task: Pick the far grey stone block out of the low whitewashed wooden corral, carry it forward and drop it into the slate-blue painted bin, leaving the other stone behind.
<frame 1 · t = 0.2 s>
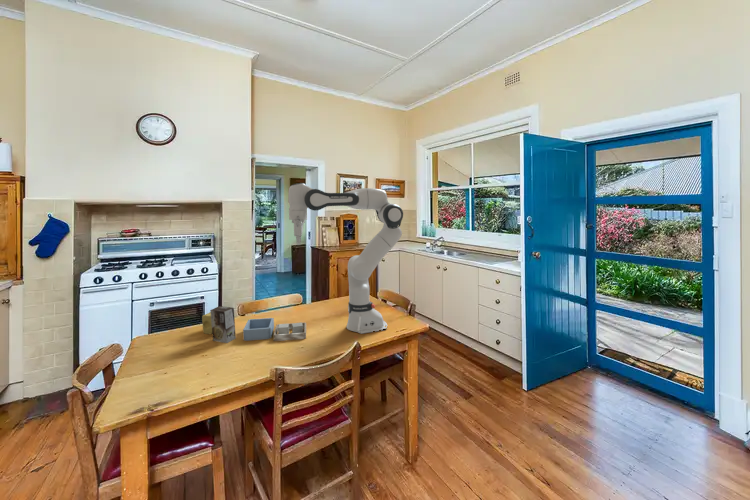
hand: (299, 243, 163), 47 cm above the table, fingers open, 8 cm apart
stone far: (283, 334, 166), resting in corral
cheese: (217, 331, 171), on the table
stone near: (297, 333, 168), resting in corral
corral: (290, 334, 167), on the table
bin: (259, 333, 167), on the table
coffee box: (224, 339, 160), on the table
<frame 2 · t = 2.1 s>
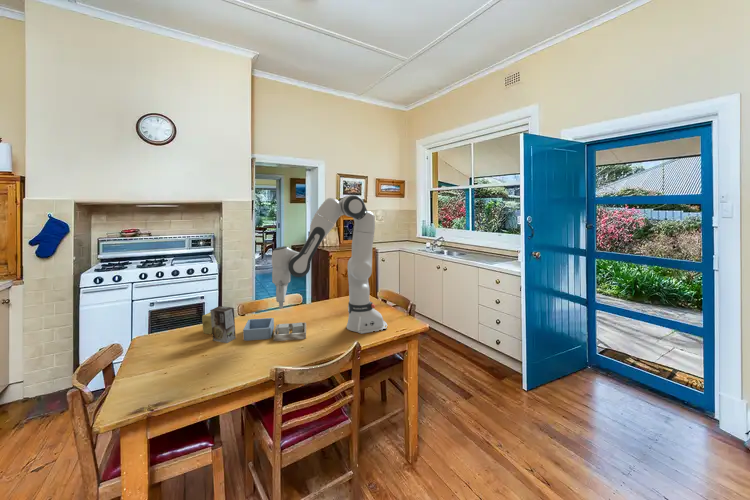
hand: (282, 305, 164), 16 cm above the table, fingers open, 8 cm apart
nothing on the table moved.
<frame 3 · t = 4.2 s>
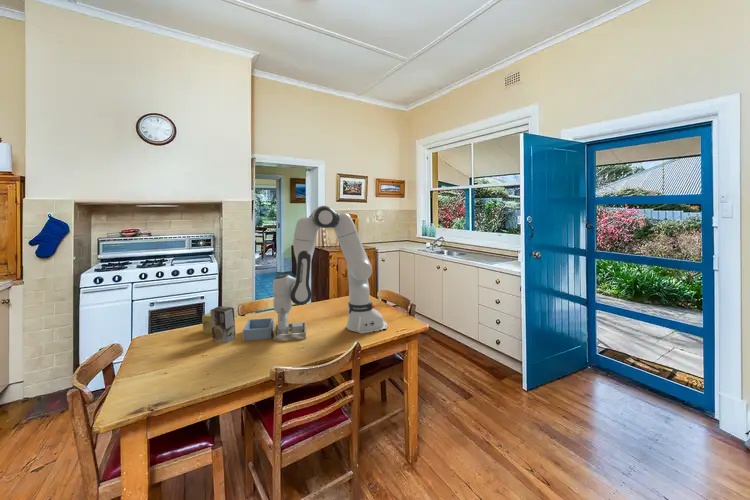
hand: (283, 331, 166), 2 cm above the table, fingers closed on stone far, 5 cm apart
stone far: (283, 334, 166), resting in corral, touching gripper
everything else where it was.
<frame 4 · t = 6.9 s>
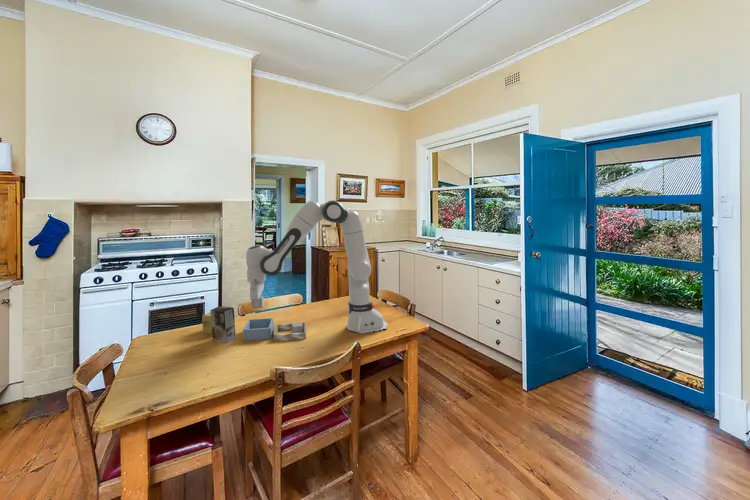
hand: (258, 303, 165), 16 cm above the table, fingers closed on stone far, 5 cm apart
stone far: (258, 306, 165), point 15 cm above the table, touching gripper
everything else where it was.
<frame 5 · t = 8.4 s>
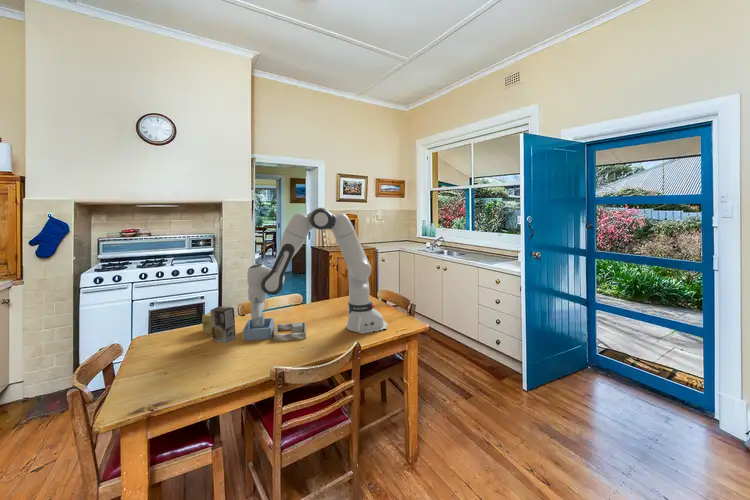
hand: (258, 321, 166), 7 cm above the table, fingers closed on stone far, 5 cm apart
stone far: (258, 324, 166), point 5 cm above the table, touching gripper
everything else where it was.
when the fingers open (5 cm above the table, at t = 9.6 s): stone far drops 3 cm, resting on bin.
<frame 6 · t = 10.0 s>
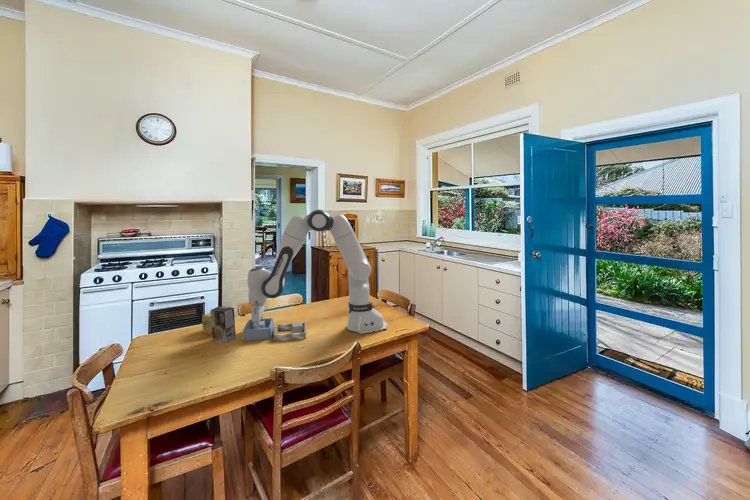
hand: (259, 324, 167), 5 cm above the table, fingers open, 8 cm apart
stone far: (259, 332, 167), point 1 cm above the table, touching bin
everything else where it was.
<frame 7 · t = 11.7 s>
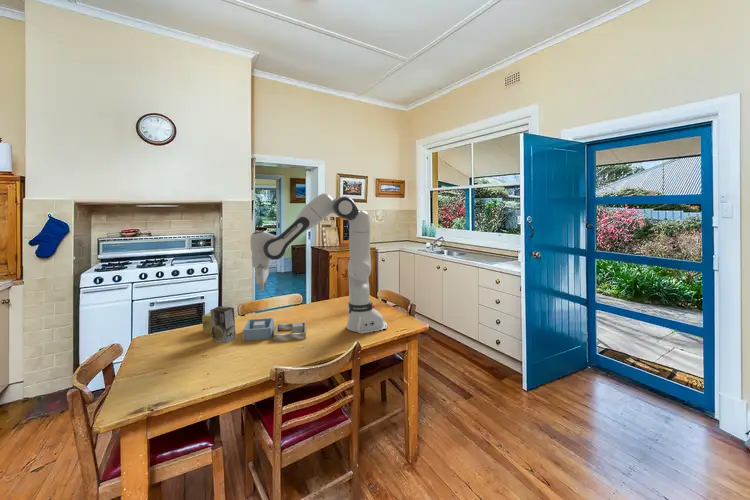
hand: (263, 288, 166), 24 cm above the table, fingers open, 8 cm apart
nothing on the table moved.
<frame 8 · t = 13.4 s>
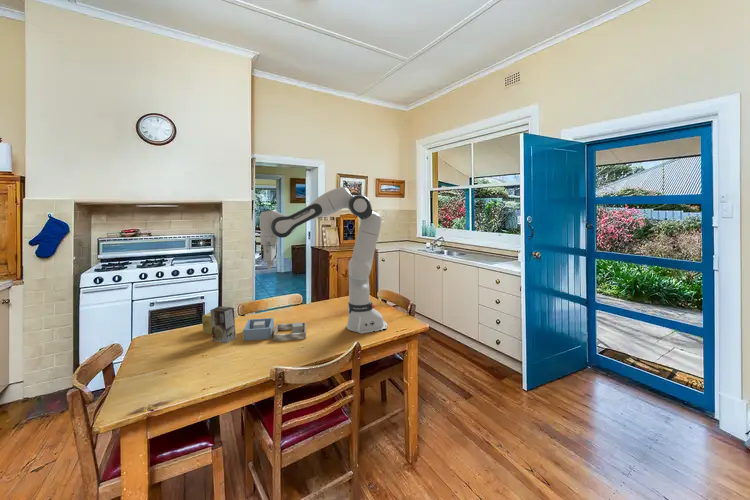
hand: (270, 267, 168), 34 cm above the table, fingers open, 8 cm apart
nothing on the table moved.
at the end: stone far inside the target area on the bin (0.0 cm from its centre), point 0.8 cm above the bin's base; the gripper is holding nothing; stone near moved 0.1 cm from its start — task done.
